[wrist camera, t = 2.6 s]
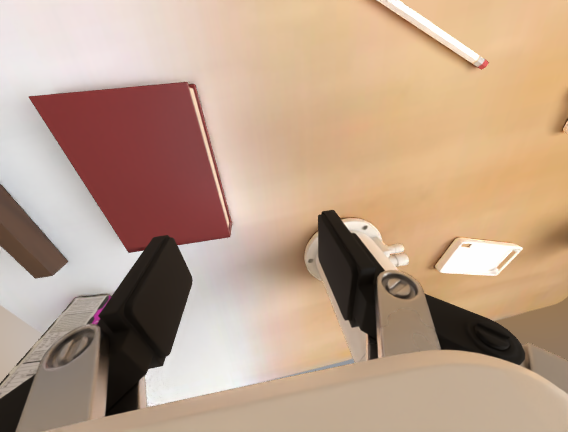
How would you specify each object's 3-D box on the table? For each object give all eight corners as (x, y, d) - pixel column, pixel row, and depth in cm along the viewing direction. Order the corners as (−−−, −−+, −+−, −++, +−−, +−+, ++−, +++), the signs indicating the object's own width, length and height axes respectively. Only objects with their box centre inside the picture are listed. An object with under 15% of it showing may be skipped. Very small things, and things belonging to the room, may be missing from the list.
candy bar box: (138, 334, 36) (65, 485, 22) (107, 337, 35) (11, 496, 21) (111, 292, 30) (-10, 460, 16) (74, 295, 29) (-86, 474, 15)
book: (195, 84, 19) (186, 81, 16) (232, 224, 27) (230, 237, 25) (59, 96, 18) (27, 96, 15) (140, 237, 26) (128, 252, 24)
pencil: (478, 70, 22) (484, 69, 21) (330, -28, 16) (332, -32, 16) (483, 61, 21) (490, 60, 21) (334, -41, 16) (337, -47, 15)
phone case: (432, 267, 38) (489, 271, 42) (438, 272, 37) (496, 276, 41) (456, 236, 35) (516, 243, 38) (463, 241, 34) (524, 247, 37)
